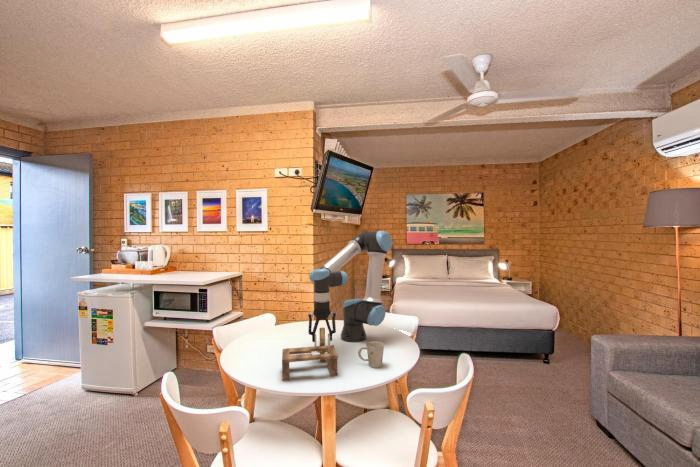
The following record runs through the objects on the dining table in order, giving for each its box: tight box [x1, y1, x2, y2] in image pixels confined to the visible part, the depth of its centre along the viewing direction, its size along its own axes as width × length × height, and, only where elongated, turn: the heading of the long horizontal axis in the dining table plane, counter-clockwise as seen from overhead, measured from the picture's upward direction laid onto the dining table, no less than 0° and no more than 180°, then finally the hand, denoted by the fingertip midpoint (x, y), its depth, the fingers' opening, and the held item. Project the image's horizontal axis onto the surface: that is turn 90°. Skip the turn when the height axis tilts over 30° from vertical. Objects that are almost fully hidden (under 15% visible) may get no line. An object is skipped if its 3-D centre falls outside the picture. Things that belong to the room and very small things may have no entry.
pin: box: [315, 327, 327, 363], centre depth 159 cm, size 6×6×16 cm
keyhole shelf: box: [281, 344, 339, 381], centre depth 146 cm, size 24×14×9 cm, turn 101°
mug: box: [357, 340, 385, 369], centre depth 154 cm, size 8×13×10 cm, turn 78°
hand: (322, 347), depth 159 cm, fingers closed on pin, 6 cm apart
